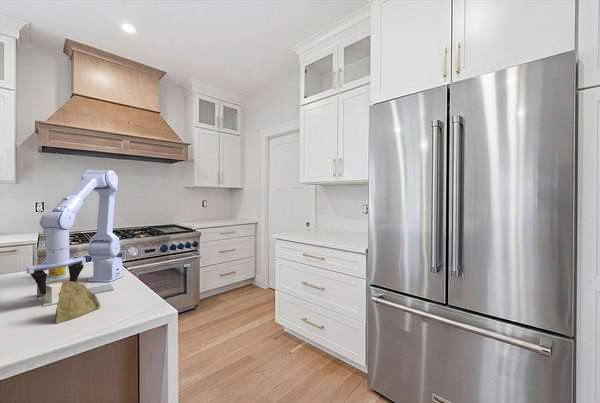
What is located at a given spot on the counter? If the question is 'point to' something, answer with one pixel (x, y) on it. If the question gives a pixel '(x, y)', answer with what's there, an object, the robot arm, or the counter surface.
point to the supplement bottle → (57, 272)
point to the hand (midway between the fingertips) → (58, 289)
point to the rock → (74, 301)
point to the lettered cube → (53, 291)
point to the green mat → (49, 303)
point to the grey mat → (100, 289)
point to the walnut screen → (46, 283)
